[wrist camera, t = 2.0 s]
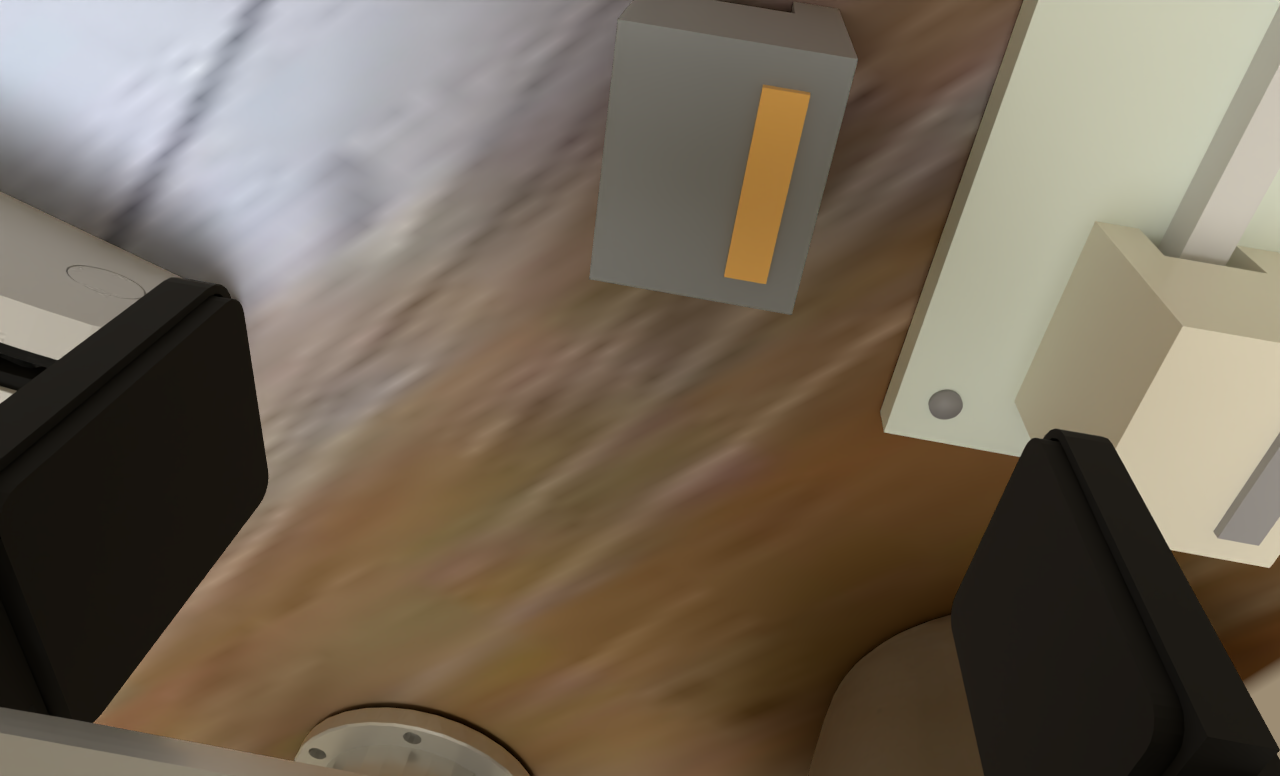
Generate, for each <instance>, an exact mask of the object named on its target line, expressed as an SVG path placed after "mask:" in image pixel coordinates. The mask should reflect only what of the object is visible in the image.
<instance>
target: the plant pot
mask: <svg viewBox="0 0 1280 776" xmlns="http://www.w3.org/2000/svg"><path fill="white" fill-rule="evenodd" d="M808 776H984V773H983V769H982V764H981V760H980V755H979V751H978V746H977V742H976V737H975V733H974V728H973V724H972V719H971V714H970V710H969V705H968V701H967V696H966V692H965V687H964V683H963V678H962V674H961V669H960V665H959V660H958V656H957V651H956V647H955V642H954V638H953V633H952V628H951V615H948V616H945V617H941V618H938V619H934V620H931V621H928V622H926V623H923V624H921V625H918V626H916V627H913V628H911V629H908V630H906V631H904V632H901V633H899V634H897V635H895V636H894V637H892V638H890V639H889V640H887V641H885V642H883V643H882V644H880V645H879V646H878V647H876V648H875V649H874V650H873V651H871V652H870V653H869V654H867V655H866V656H864V657H863V658H862V659H861V660H860V661H859V662H858V663H856V664H855V666H854V667H853V668H852V669H851V670H850V671H849V672H848V674H847V675H846V676H845V677H844V679H843V680H842V682H841V683H840V685H839V687H838V688H837V690H836V692H835V694H834V696H833V698H832V701H831V703H830V706H829V709H828V711H827V714H826V716H825V719H824V722H823V725H822V728H821V731H820V735H819V738H818V742H817V745H816V749H815V752H814V755H813V759H812V762H811V766H810V770H809V774H808Z"/></svg>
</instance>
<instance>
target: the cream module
mask: <svg viewBox="0 0 1280 776" xmlns="http://www.w3.org/2000/svg"><path fill="white" fill-rule="evenodd" d="M1014 402H1015V404H1016V406H1017V409H1018V411H1019V413H1020V416H1021V418H1022V420H1023V423H1024V425H1025V427H1026V430H1027V432H1028V434H1029V437H1030V439H1032V438H1040V439H1043V438H1044V436H1045V435H1046V434H1047V433H1048V432H1049V431H1050V430H1052V429H1055V428H1056V429H1062V430H1068V431H1073V432H1079V433H1085V434H1091V435H1097V436H1102V437H1105V438H1108V439H1109V440H1110V441H1111V443H1112V444H1113V446H1114V448H1115V449H1116V451H1117V453H1118V455H1119V457H1120V459H1121V460H1122V462H1123V464H1124V466H1125V468H1126V469H1127V471H1128V473H1129V475H1130V477H1131V479H1132V480H1133V482H1134V484H1135V486H1136V488H1137V490H1138V491H1139V493H1140V495H1141V497H1142V499H1143V501H1144V502H1145V504H1146V506H1147V508H1148V510H1149V512H1150V513H1151V515H1152V517H1153V519H1154V521H1155V522H1156V524H1157V526H1158V528H1159V530H1160V532H1161V533H1162V535H1163V537H1164V539H1165V541H1166V543H1167V544H1168V546H1169V548H1170V550H1174V551H1179V552H1185V553H1190V554H1196V555H1201V556H1207V557H1212V558H1218V559H1223V560H1229V561H1234V562H1239V563H1245V564H1250V565H1256V566H1261V567H1267V568H1270V567H1271V566H1272V564H1273V563H1274V562H1275V560H1276V559H1277V558H1278V556H1279V555H1280V253H1278V252H1272V251H1266V250H1261V249H1255V248H1249V247H1243V246H1236V248H1235V250H1234V251H1233V253H1232V255H1231V257H1230V259H1229V260H1228V262H1227V264H1226V266H1221V265H1215V264H1209V263H1204V262H1198V261H1192V260H1186V259H1180V258H1174V257H1169V256H1164V255H1163V254H1162V252H1161V251H1160V250H1159V249H1158V248H1157V247H1156V246H1155V245H1154V244H1153V243H1152V242H1151V241H1150V240H1149V239H1148V237H1147V236H1146V235H1145V234H1144V233H1143V232H1142V231H1141V230H1140V229H1138V228H1132V227H1126V226H1120V225H1114V224H1109V223H1103V222H1097V221H1095V223H1094V225H1093V227H1092V230H1091V232H1090V234H1089V236H1088V238H1087V241H1086V243H1085V245H1084V247H1083V250H1082V252H1081V254H1080V256H1079V258H1078V261H1077V263H1076V265H1075V267H1074V270H1073V272H1072V274H1071V276H1070V278H1069V281H1068V283H1067V285H1066V287H1065V290H1064V292H1063V294H1062V296H1061V298H1060V301H1059V303H1058V305H1057V307H1056V310H1055V312H1054V314H1053V316H1052V318H1051V321H1050V323H1049V325H1048V327H1047V330H1046V332H1045V334H1044V336H1043V339H1042V341H1041V343H1040V345H1039V347H1038V350H1037V352H1036V354H1035V356H1034V359H1033V361H1032V363H1031V365H1030V367H1029V370H1028V372H1027V374H1026V376H1025V379H1024V381H1023V383H1022V385H1021V387H1020V390H1019V392H1018V394H1017V396H1016V399H1015V401H1014Z"/></svg>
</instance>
